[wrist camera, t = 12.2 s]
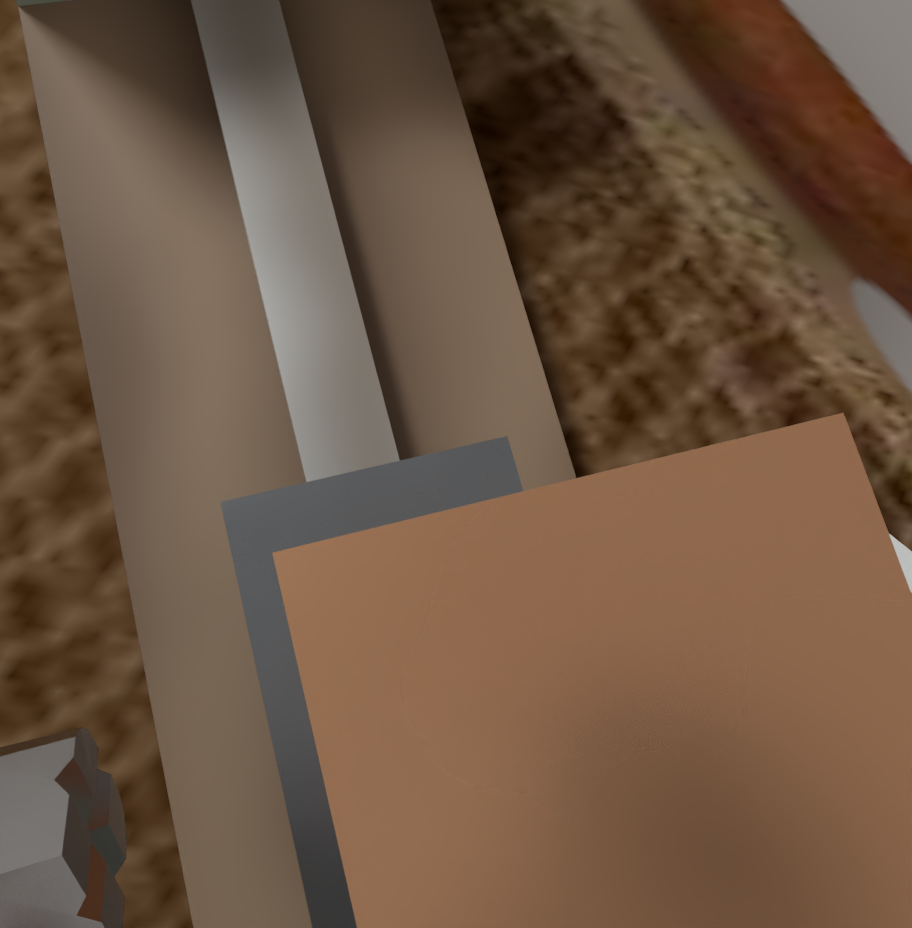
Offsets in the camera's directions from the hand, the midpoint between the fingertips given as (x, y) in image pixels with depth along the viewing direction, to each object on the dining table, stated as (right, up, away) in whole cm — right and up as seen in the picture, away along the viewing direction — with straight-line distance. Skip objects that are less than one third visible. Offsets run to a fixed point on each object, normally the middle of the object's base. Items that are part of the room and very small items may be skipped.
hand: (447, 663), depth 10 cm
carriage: (-1, -2, +6) cm, 7 cm away
